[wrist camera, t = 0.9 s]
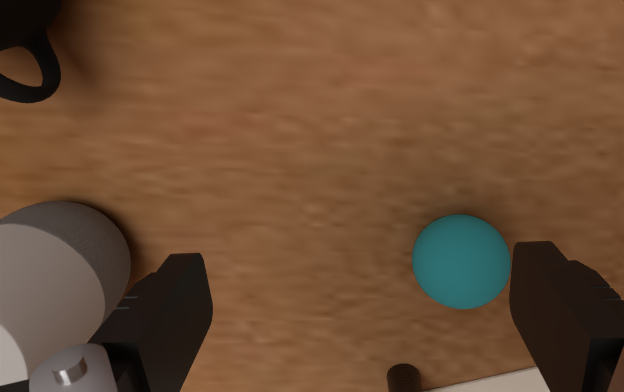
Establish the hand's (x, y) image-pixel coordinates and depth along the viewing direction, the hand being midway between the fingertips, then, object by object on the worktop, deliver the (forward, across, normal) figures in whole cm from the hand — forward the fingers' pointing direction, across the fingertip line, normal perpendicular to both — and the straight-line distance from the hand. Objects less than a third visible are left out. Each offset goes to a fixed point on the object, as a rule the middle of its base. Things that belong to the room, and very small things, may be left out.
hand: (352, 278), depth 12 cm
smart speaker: (+18, +21, +8) cm, 29 cm away
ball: (+16, -6, +9) cm, 19 cm away
